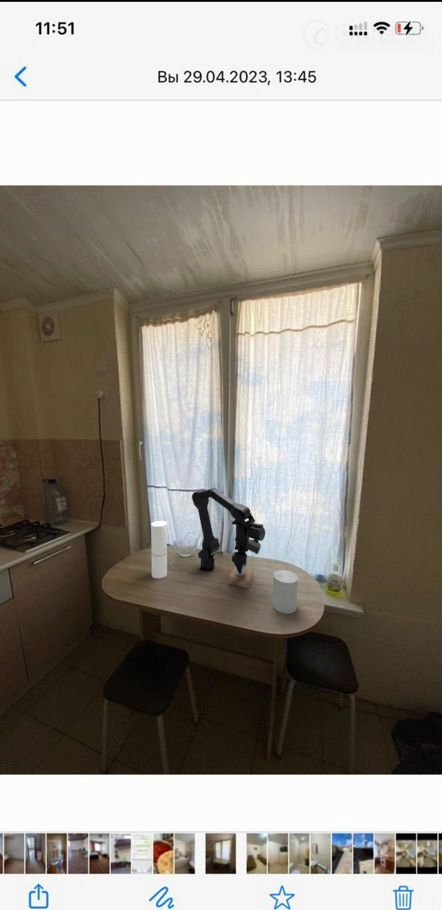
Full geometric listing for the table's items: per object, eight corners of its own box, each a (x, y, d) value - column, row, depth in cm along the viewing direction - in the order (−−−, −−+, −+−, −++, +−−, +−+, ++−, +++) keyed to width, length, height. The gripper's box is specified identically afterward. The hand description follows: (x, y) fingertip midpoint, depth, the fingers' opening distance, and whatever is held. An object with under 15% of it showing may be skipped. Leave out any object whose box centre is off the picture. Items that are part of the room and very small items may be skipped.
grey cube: (235, 575, 113) (236, 564, 112) (236, 570, 117) (237, 559, 117) (246, 576, 112) (246, 565, 112) (246, 571, 117) (246, 560, 116)
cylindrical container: (168, 570, 123) (168, 521, 121) (164, 579, 116) (163, 526, 114) (154, 569, 123) (154, 520, 121) (149, 577, 116) (148, 525, 114)
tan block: (229, 584, 113) (229, 576, 112) (234, 574, 121) (234, 566, 121) (248, 589, 110) (248, 580, 109) (252, 578, 118) (252, 570, 118)
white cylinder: (278, 594, 106) (279, 566, 105) (300, 604, 100) (302, 574, 99) (267, 606, 98) (268, 576, 97) (290, 617, 92) (292, 586, 91)
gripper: (258, 545, 102) (257, 581, 103) (260, 528, 120) (259, 559, 122) (231, 542, 104) (231, 578, 106) (237, 526, 122) (237, 557, 124)
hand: (241, 567), depth 114 cm, fingers open, 9 cm apart
